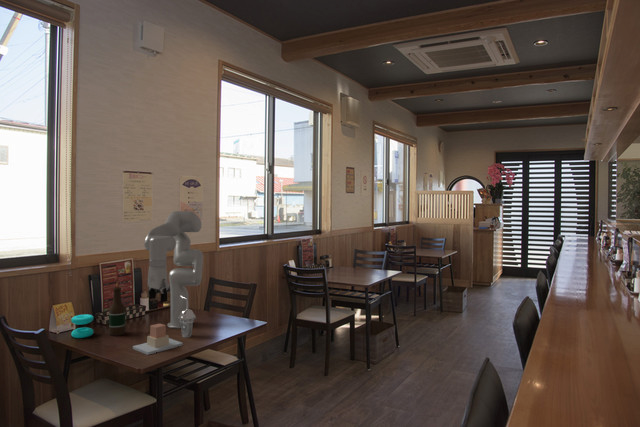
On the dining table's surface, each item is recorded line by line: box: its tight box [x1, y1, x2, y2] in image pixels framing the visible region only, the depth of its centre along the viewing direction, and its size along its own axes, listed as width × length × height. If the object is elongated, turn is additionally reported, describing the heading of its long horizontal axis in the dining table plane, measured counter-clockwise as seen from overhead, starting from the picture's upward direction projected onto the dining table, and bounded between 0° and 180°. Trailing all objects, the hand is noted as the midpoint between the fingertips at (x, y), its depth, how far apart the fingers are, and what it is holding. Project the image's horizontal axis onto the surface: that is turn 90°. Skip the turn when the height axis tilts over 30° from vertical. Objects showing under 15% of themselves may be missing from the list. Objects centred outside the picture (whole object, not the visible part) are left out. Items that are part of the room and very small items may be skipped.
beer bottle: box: [108, 286, 127, 337], centre depth 233 cm, size 8×8×24 cm
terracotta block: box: [149, 323, 167, 338], centre depth 213 cm, size 5×5×5 cm
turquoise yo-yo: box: [71, 313, 95, 339], centre depth 230 cm, size 10×10×10 cm
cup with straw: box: [178, 296, 196, 339], centre depth 231 cm, size 8×9×20 cm
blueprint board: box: [132, 334, 184, 356], centre depth 213 cm, size 18×13×5 cm
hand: (158, 300), depth 212 cm, fingers open, 9 cm apart
